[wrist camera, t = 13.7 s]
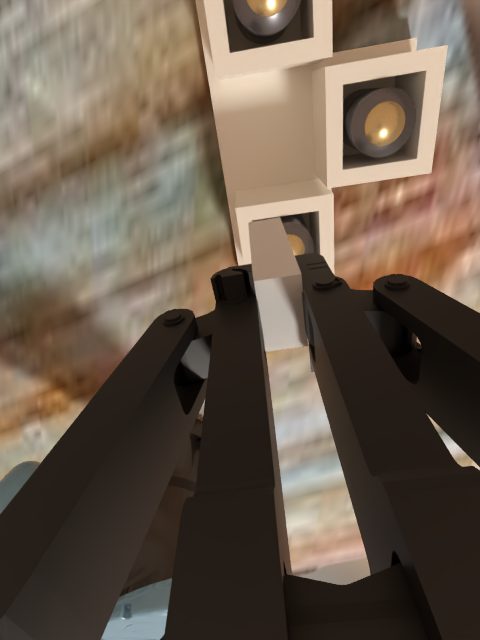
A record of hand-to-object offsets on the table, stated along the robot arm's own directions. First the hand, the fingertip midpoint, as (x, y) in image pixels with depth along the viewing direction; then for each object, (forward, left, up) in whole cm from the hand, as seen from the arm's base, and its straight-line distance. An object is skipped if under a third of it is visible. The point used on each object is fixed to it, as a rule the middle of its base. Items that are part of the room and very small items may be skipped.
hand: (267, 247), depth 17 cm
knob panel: (+5, +3, -21) cm, 22 cm away
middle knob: (+9, +3, -19) cm, 21 cm away
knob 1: (+2, +12, -19) cm, 22 cm away
